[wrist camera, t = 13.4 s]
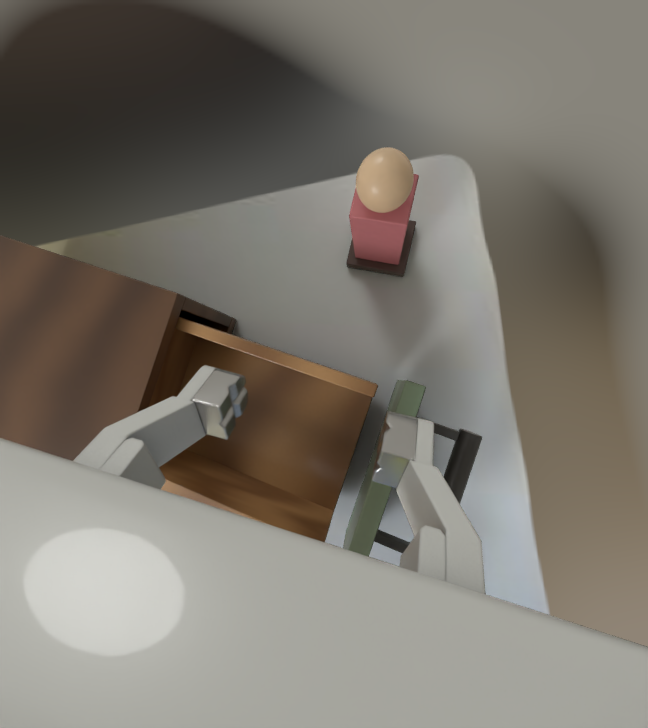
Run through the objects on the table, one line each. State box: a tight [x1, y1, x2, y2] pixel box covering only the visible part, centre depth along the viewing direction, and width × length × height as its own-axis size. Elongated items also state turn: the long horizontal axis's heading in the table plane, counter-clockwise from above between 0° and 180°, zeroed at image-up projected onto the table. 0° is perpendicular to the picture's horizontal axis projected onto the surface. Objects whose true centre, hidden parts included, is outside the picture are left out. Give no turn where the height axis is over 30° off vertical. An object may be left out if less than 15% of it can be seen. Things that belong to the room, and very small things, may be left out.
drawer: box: [149, 317, 482, 557], centre depth 23 cm, size 23×13×7 cm, turn 71°
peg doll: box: [347, 148, 419, 277], centre depth 22 cm, size 4×5×11 cm
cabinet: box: [0, 235, 236, 461], centre depth 26 cm, size 20×14×9 cm
